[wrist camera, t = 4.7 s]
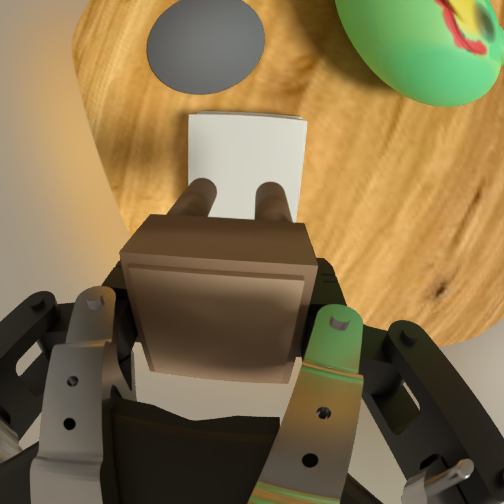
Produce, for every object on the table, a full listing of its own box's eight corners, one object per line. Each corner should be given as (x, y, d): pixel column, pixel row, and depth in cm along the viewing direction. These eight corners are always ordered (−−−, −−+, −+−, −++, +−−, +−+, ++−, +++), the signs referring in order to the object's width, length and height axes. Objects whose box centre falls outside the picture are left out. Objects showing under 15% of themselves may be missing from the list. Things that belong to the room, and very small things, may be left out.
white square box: (198, 111, 26) (186, 112, 21) (301, 116, 26) (310, 119, 22) (197, 205, 31) (187, 223, 26) (291, 211, 31) (296, 230, 27)
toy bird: (295, -29, 17) (320, -104, 4) (420, -31, 14) (488, -65, 1) (355, 114, 25) (432, 129, 13) (468, 95, 22) (556, 112, 10)
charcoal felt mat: (153, 0, 19) (152, -1, 19) (267, -5, 19) (268, -7, 19) (145, 97, 25) (144, 97, 24) (260, 96, 25) (260, 96, 25)
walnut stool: (185, 175, 13) (115, 256, 6) (289, 180, 13) (319, 270, 6) (189, 262, 15) (149, 375, 9) (278, 268, 15) (288, 388, 9)
